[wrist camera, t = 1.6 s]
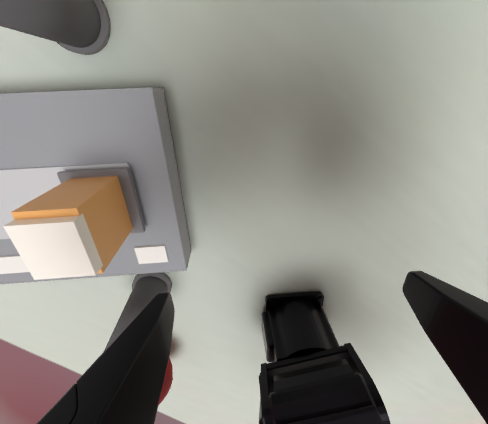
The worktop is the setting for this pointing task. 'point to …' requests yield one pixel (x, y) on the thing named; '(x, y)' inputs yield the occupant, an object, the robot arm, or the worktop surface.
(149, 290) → the cable post
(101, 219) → the block
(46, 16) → the cable post
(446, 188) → the worktop surface
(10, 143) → the panel
